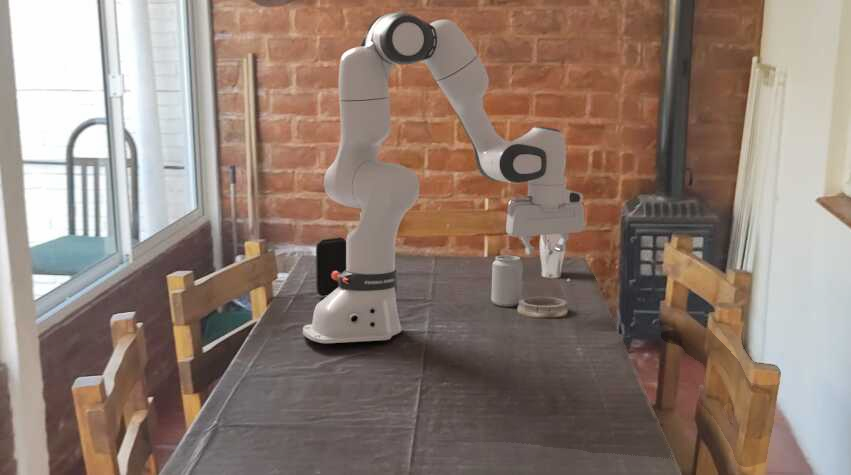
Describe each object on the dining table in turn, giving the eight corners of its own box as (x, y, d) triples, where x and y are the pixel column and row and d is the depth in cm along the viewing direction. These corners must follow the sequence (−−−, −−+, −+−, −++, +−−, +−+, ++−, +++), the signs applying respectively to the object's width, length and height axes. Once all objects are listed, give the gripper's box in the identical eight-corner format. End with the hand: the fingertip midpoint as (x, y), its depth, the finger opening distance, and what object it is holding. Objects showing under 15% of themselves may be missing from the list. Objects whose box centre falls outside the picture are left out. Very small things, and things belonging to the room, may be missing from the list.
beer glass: (558, 287, 247) (559, 233, 244) (534, 284, 250) (536, 231, 248) (567, 283, 253) (569, 230, 250) (544, 280, 256) (545, 228, 254)
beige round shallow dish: (534, 319, 211) (534, 309, 211) (508, 308, 222) (508, 298, 221) (577, 314, 216) (577, 304, 216) (549, 304, 227) (550, 294, 226)
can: (521, 301, 230) (523, 255, 228) (521, 308, 223) (523, 260, 221) (491, 300, 231) (493, 253, 229) (490, 306, 223) (492, 258, 221)
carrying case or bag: (345, 290, 241) (345, 235, 239) (353, 292, 239) (352, 237, 236) (313, 296, 233) (313, 239, 231) (321, 298, 231) (320, 241, 229)
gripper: (515, 199, 207) (514, 258, 210) (589, 195, 216) (587, 251, 218) (501, 196, 213) (500, 253, 215) (574, 192, 222) (572, 247, 224)
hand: (544, 252), depth 217 cm, fingers open, 7 cm apart
